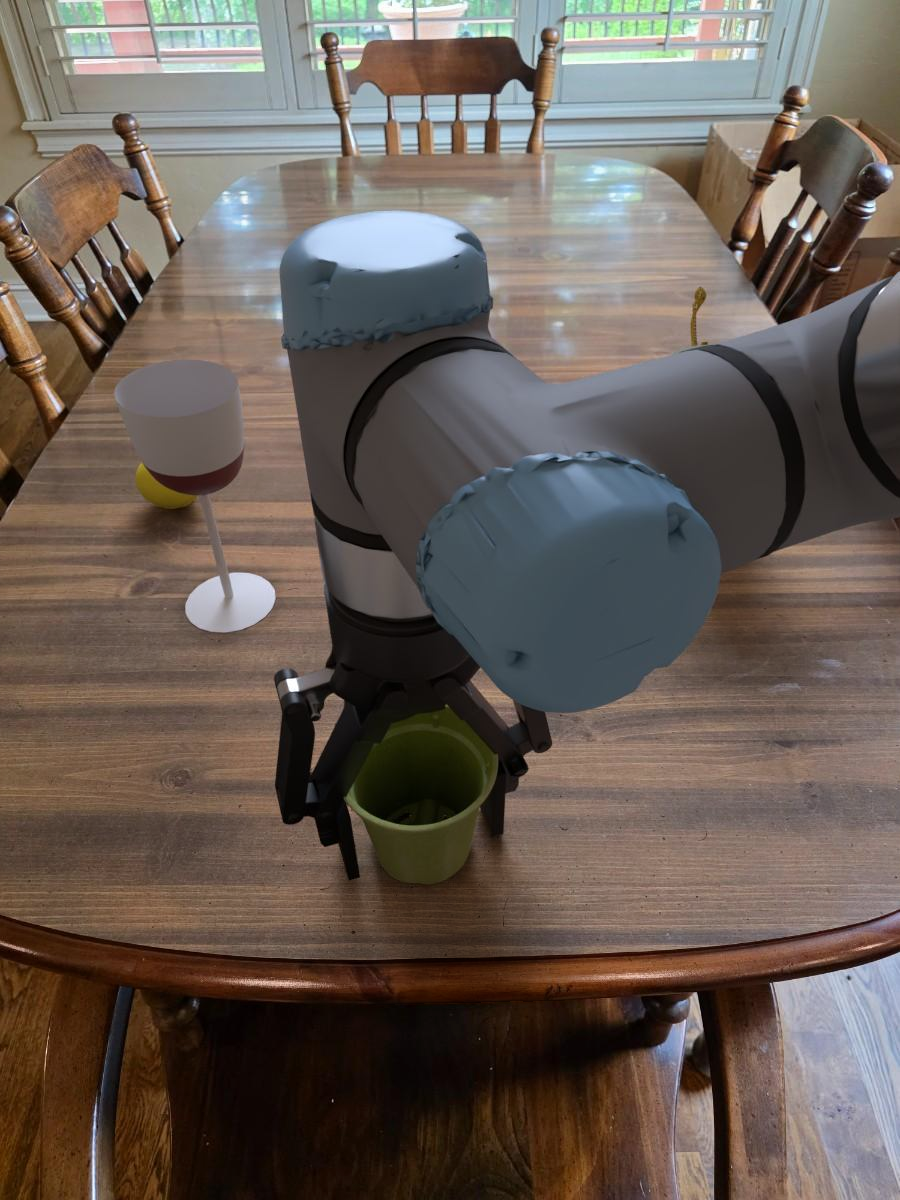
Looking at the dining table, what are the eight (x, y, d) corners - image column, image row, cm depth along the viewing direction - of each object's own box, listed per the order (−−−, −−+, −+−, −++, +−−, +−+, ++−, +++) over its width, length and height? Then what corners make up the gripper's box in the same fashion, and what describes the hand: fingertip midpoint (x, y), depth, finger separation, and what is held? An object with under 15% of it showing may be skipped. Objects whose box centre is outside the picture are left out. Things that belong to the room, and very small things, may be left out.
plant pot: (320, 839, 56) (302, 755, 50) (430, 759, 61) (426, 674, 55) (412, 942, 51) (405, 862, 45) (526, 847, 55) (532, 763, 49)
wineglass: (237, 649, 69) (181, 429, 56) (159, 611, 72) (88, 396, 59) (300, 591, 74) (263, 377, 60) (224, 558, 77) (172, 349, 64)
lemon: (130, 516, 82) (114, 468, 79) (155, 484, 86) (142, 437, 83) (199, 524, 81) (186, 476, 78) (221, 491, 85) (210, 444, 82)
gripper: (580, 483, 45) (552, 750, 61) (160, 572, 41) (244, 838, 56) (649, 571, 40) (599, 839, 55) (175, 685, 35) (263, 945, 51)
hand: (421, 839), depth 56 cm, fingers open, 9 cm apart
